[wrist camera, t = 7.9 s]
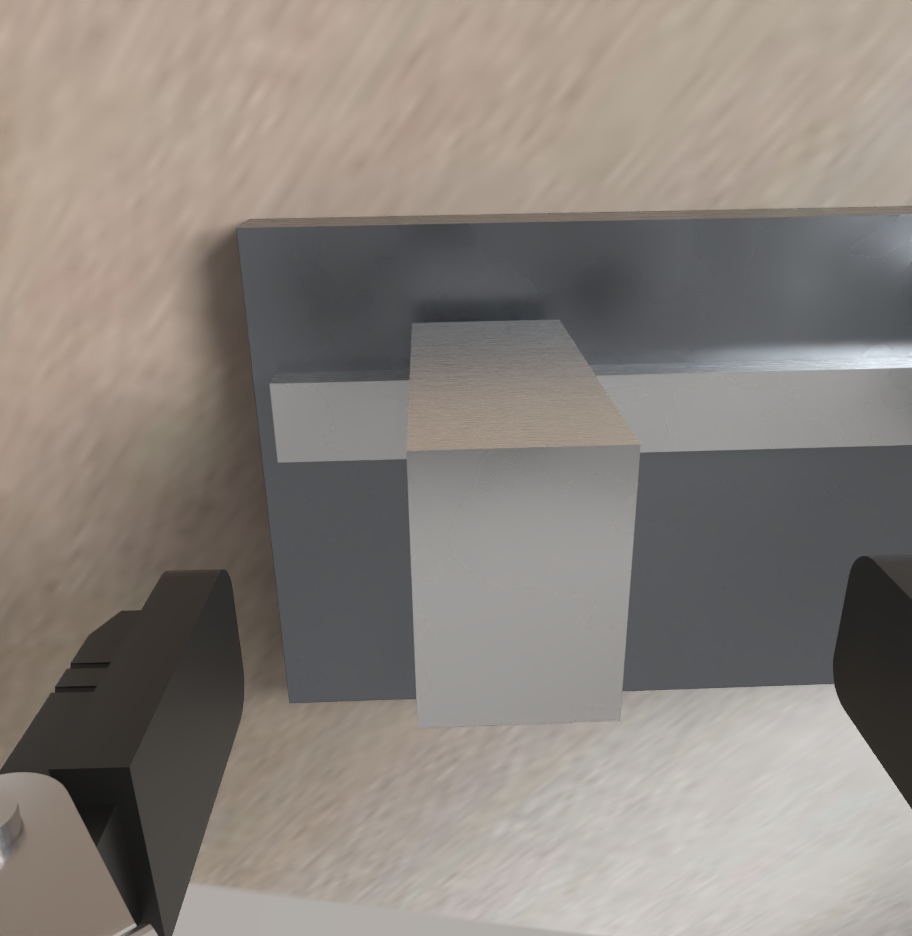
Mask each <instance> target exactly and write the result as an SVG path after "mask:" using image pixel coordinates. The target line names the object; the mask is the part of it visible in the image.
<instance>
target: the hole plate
mask: <svg viewBox="0 0 912 936" xmlns="http://www.w3.org/2000/svg"><path fill="white" fill-rule="evenodd" d="M236 230H237V238H238V247H239V256H240V265H241V274H242V283H243V292H244V301H245V310H246V319H247V328H248V337H249V346H250V355H251V364H252V372H253V381H254V390H255V399H256V408H257V417H258V426H259V435H260V444H261V453H262V462H263V471H264V480H265V489H266V498H267V507H268V515H269V524H270V533H271V542H272V551H273V560H274V569H275V578H276V587H277V596H278V605H279V614H280V623H281V632H282V641H283V649H284V658H285V667H286V676H287V685H288V694H289V703H309V702H337V701H365V700H393V699H416V676H415V651H414V626H413V601H412V577H411V552H410V527H409V502H408V477H407V453H406V449H407V427H408V404H409V381H410V358H411V336H412V323H433V322H476V321H519V320H560V321H561V323H562V324H563V326H564V328H565V329H566V331H567V332H568V334H569V335H570V337H571V338H572V340H573V341H574V343H575V344H576V346H577V347H578V349H579V351H580V352H581V354H582V355H583V357H584V358H585V360H586V361H587V363H588V364H589V366H590V367H591V369H592V371H593V372H594V374H595V375H596V377H597V378H598V380H599V381H600V383H601V384H602V386H603V387H604V389H605V390H606V392H607V394H608V395H609V397H610V398H611V400H612V401H613V403H614V404H615V406H616V407H617V409H618V410H619V412H620V413H621V415H622V417H623V418H624V420H625V421H626V423H627V424H628V426H629V427H630V429H631V430H632V432H633V433H634V435H635V436H636V438H637V440H638V441H639V443H640V444H641V447H640V460H639V474H638V487H637V500H636V514H635V527H634V540H633V554H632V567H631V580H630V594H629V607H628V620H627V634H626V647H625V660H624V674H623V687H622V691H644V690H672V689H699V688H727V687H755V686H783V685H811V684H834V677H833V657H834V651H835V646H836V641H837V636H838V630H839V625H840V620H841V615H842V609H843V604H844V599H845V594H846V588H847V583H848V578H849V573H850V570H851V567H852V565H853V563H854V562H855V560H856V559H857V558H859V557H861V556H879V555H912V206H899V207H848V208H797V209H746V210H695V211H644V212H593V213H542V214H492V215H441V216H390V217H339V218H288V219H249V220H248V221H246V222H245V223H243V224H242V225H240V226H239V227H237V228H236Z"/></svg>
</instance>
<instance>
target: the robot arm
mask: <svg viewBox="0 0 912 936" xmlns="http://www.w3.org/2000/svg"><path fill="white" fill-rule="evenodd" d="M833 677H834V684H835V688H836V692H837V695H838V698H839V700H840V703H841V705H842V706H843V708H844V710H845V711H846V713H847V714H848V716H849V717H850V719H851V720H852V722H853V723H854V724H855V726H856V727H857V729H858V730H859V732H860V733H861V735H862V736H863V738H864V739H865V741H866V742H867V744H868V745H869V747H870V748H871V750H872V751H873V752H874V754H875V755H876V757H877V758H878V760H879V761H880V763H881V764H882V766H883V767H884V769H885V770H886V772H887V773H888V775H889V776H890V778H891V779H892V780H893V782H894V783H895V785H896V786H897V788H898V789H899V791H900V792H901V794H902V795H903V797H904V798H905V800H906V801H907V803H908V804H909V805H910V807H911V808H912V555H879V556H861V557H859V558H857V559H856V560H855V562H854V563H853V565H852V567H851V570H850V573H849V578H848V583H847V588H846V594H845V599H844V604H843V609H842V615H841V620H840V625H839V630H838V636H837V641H836V646H835V651H834V657H833ZM243 701H244V671H243V663H242V656H241V648H240V641H239V634H238V626H237V619H236V612H235V604H234V597H233V589H232V584H231V579H230V576H229V574H228V572H227V571H226V570H184V571H166V572H164V573H163V574H162V576H161V577H160V579H159V581H158V582H157V584H156V586H155V588H154V589H153V591H152V593H151V594H150V596H149V598H148V600H147V601H146V603H145V605H144V606H143V608H142V610H138V611H121V612H119V613H118V614H117V615H115V616H114V617H113V618H111V619H110V620H109V621H107V622H106V623H105V624H103V625H102V626H101V627H99V628H98V629H97V630H95V631H94V632H93V633H91V634H90V635H89V636H88V637H87V639H86V641H85V642H84V644H83V645H82V647H81V648H80V650H79V651H78V653H77V654H76V656H75V657H74V659H73V660H72V662H71V668H70V669H66V671H65V673H64V674H63V676H62V677H61V679H60V680H59V682H58V683H57V685H56V686H55V693H51V694H50V695H49V697H48V698H47V700H46V702H45V703H44V705H43V706H42V708H41V709H40V711H39V712H38V714H37V715H36V717H35V718H34V720H33V721H32V723H31V724H30V726H29V727H28V729H27V731H26V732H25V734H24V735H23V737H22V738H21V740H20V741H19V743H18V744H17V746H16V747H15V749H14V750H13V752H12V753H11V755H10V756H9V758H8V760H7V761H6V763H5V764H4V766H3V767H2V769H1V770H0V936H172V934H173V931H174V928H175V925H176V922H177V919H178V916H179V912H180V909H181V906H182V903H183V900H184V897H185V893H186V890H187V887H188V884H189V881H190V878H191V875H192V871H193V868H194V865H195V862H196V859H197V856H198V853H199V849H200V846H201V843H202V840H203V837H204V834H205V831H206V827H207V824H208V821H209V818H210V815H211V812H212V808H213V805H214V802H215V799H216V796H217V793H218V790H219V786H220V783H221V780H222V777H223V774H224V771H225V768H226V764H227V761H228V758H229V755H230V752H231V749H232V745H233V742H234V739H235V736H236V733H237V730H238V727H239V723H240V720H241V715H242V709H243Z"/></svg>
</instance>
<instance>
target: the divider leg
mask: <svg viewBox="0 0 912 936" xmlns="http://www.w3.org/2000/svg"><path fill="white" fill-rule="evenodd" d="M640 447H641V444H640V443H639V441H638V440H637V438H636V436H635V435H634V433H633V432H632V430H631V429H630V427H629V426H628V424H627V423H626V421H625V420H624V418H623V417H622V415H621V413H620V412H619V410H618V409H617V407H616V406H615V404H614V403H613V401H612V400H611V398H610V397H609V395H608V394H607V392H606V390H605V389H604V387H603V386H602V384H601V383H600V381H599V380H598V378H597V377H596V375H595V374H594V372H593V371H592V369H591V367H590V366H589V364H588V363H587V361H586V360H585V358H584V357H583V355H582V354H581V352H580V351H579V349H578V347H577V346H576V344H575V343H574V341H573V340H572V338H571V337H570V335H569V334H568V332H567V331H566V329H565V328H564V326H563V324H562V323H561V321H560V320H519V321H476V322H433V323H412V336H411V358H410V381H409V404H408V427H407V449H406V453H407V477H408V502H409V527H410V552H411V577H412V601H413V626H414V651H415V676H416V701H417V725H418V728H437V727H464V726H492V725H519V724H546V723H573V722H600V721H620V714H621V700H622V687H623V674H624V660H625V647H626V634H627V620H628V607H629V594H630V580H631V567H632V554H633V540H634V527H635V514H636V500H637V487H638V474H639V460H640Z"/></svg>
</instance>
